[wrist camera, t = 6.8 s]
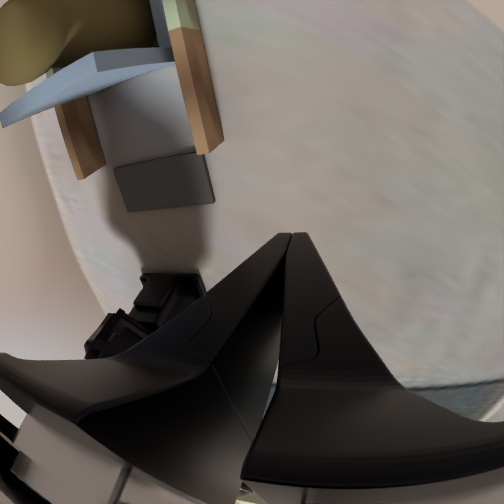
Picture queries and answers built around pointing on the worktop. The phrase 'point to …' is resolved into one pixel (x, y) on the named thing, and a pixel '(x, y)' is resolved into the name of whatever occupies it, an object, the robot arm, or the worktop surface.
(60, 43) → the cork
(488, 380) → the worktop surface
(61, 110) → the track
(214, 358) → the robot arm
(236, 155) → the worktop surface
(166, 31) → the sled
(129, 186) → the pit mat
